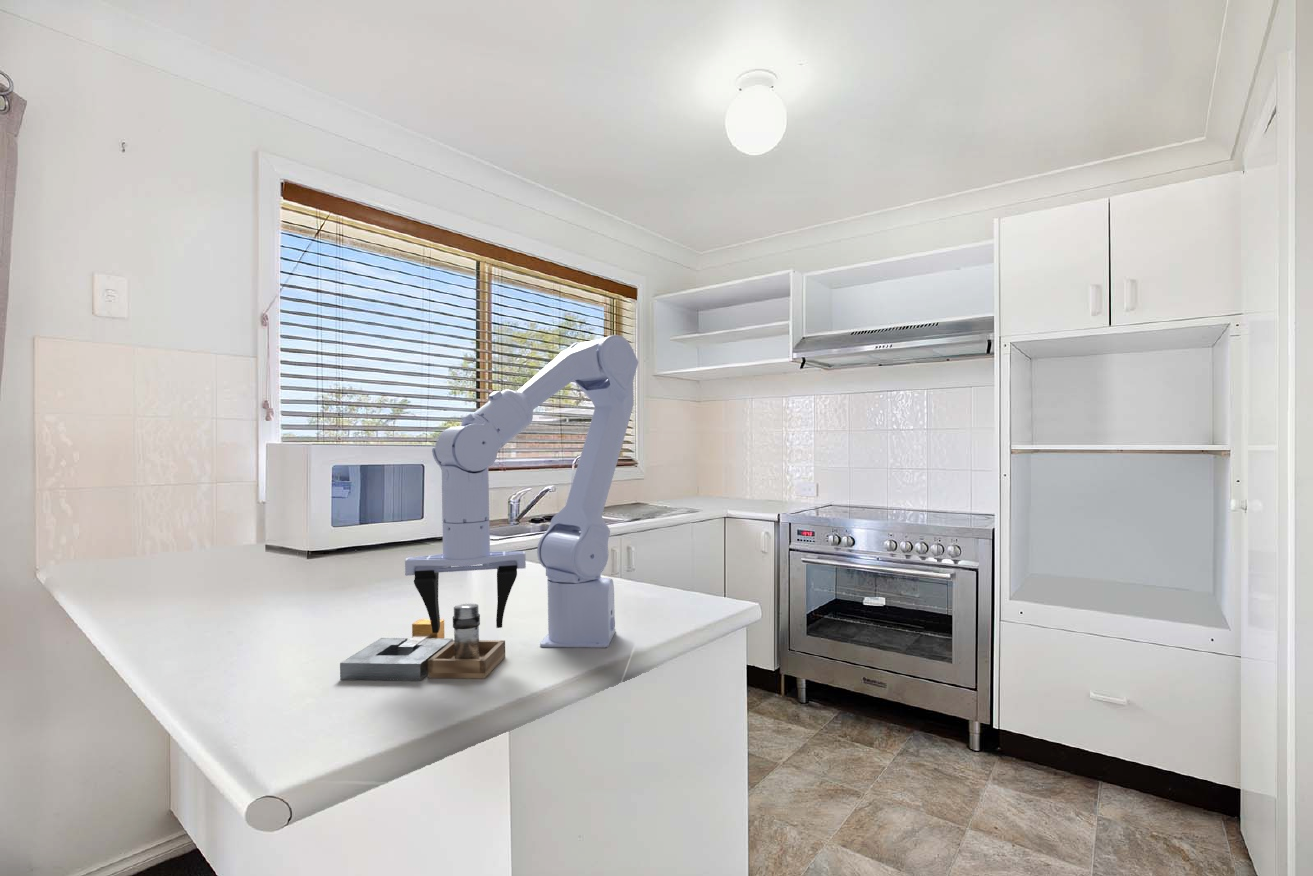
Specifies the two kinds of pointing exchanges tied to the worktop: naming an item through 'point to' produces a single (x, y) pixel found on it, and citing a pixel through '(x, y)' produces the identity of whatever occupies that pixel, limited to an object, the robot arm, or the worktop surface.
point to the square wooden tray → (466, 661)
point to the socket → (391, 660)
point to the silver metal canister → (466, 631)
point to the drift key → (420, 636)
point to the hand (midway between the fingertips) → (468, 628)
